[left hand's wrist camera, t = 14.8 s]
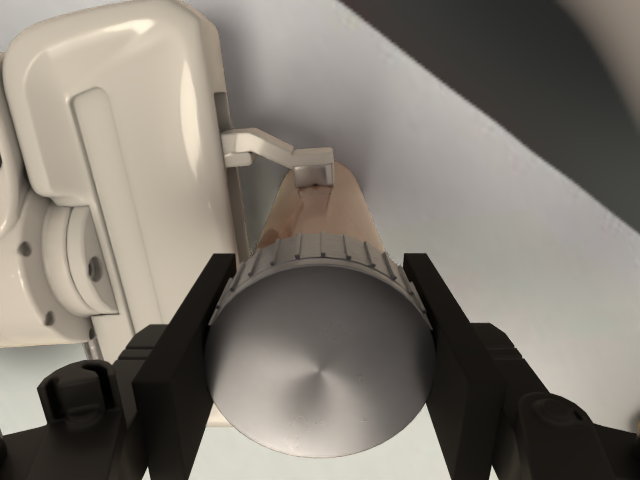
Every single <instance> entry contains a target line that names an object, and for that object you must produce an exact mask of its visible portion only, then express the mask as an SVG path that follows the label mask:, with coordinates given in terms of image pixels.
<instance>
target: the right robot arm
mask: <svg viewBox="0 0 640 480" xmlns="http://www.w3.org/2000/svg"><path fill="white" fill-rule="evenodd" d="M258 155H260V156H262V157H264V158H267V159H269V160H271V161H273V162H275V163H278V164H280V165H282V166H284V167H286V168H289V169H291V170H293V171H294V179H295V188H306V187H311V186H313V185H314V184H317V185H319V186H331V185H334V184H335V174H334V154H333V148H330V147H320V148H306V149H294V146H292V145H290V144H288V143H286V142H284V141H282V140H280V139H277V138H275V137H273V136H271V135H269V134H267V133H265V132H263V131H261V130H259V129H257V128H245V129H232V124H231V117H230V110H229V103H228V96H227V89H226V82H225V75H224V68H223V61H222V54H221V47H220V40H219V34H218V31H217V28H216V27H215V25H214V24H213V23H212V22H210V21H209V20H208V19H207V18H206V17H205V16H204V15H203V14H201V13H200V12H199V11H198V10H196V9H195V8H194V7H192V6H190V5H189V4H187V3H185V2H183V1H180V0H133V1H126V2H120V3H114V4H108V5H103V6H98V7H93V8H89V9H84V10H80V11H76V12H72V13H68V14H64V15H61V16H57V17H53V18H50V19H47V20H44V21H41V22H38V23H36V24H34V25H32V26H30V27H28V28H27V29H25V30H23V31H22V32H21V33H20V34H18V35H17V36H16V37H15V38H14V40H13V41H12V42H11V44H10V45H9V47H8V49H7V51H6V53H2V52H0V348H7V347H23V346H37V345H53V344H71V343H82V345H83V348H84V351H85V354H86V357H87V360H96V359H98V360H103V361H107V362H109V363H110V364H113V363H114V362H115V360H118V356H119V355H120V354H121V352H122V351H123V350H125V347H126V346H127V344H128V343H129V342H130V340H131V339H132V338H133V336H134V335H135V334H136V333H138V332H139V331H141V330H142V329H144V328H145V327H146V326H148V325H149V324H169V323H170V321H171V319H172V318H173V316H174V315H175V313H176V312H177V310H178V308H179V307H180V305H181V304H182V302H183V301H184V299H185V297H186V296H187V294H188V293H189V291H190V289H191V288H192V286H193V285H194V283H195V282H196V280H197V278H198V277H199V275H200V274H201V272H202V271H203V269H204V267H205V266H206V264H207V263H208V261H209V260H210V258H211V256H212V255H213V253H235V254H236V267H237V271H238V268H239V266H240V264H241V263H242V262H244V263H246V262H247V260H248V259H249V258H250V251H249V244H248V237H247V230H246V223H245V216H244V209H243V202H242V195H241V188H240V181H239V174H238V167H239V166H250V165H251V163H252V162H253V161H254V160H255V159H256V158H257V157H258ZM206 427H234V426H232V425H231V424H230V423H229V422H228V421H227V420H226V418H225V417H224V416H223V415H222V414H221V413H220V411H219V409H218V408H217V406H216V405H215V403H214V404H213V407H212V410H211V413H210V416H209V419H208V422H207V425H206Z"/></svg>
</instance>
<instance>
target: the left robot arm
mask: <svg viewBox="0 0 640 480" xmlns="http://www.w3.org/2000/svg"><path fill="white" fill-rule="evenodd" d="M403 270H404V272H405V274H406V276H407V278H408V281H409V283H410V282H413V284H414V286H415V289H416V291H417V293H418V295H419V297H420V299H421V301H422V303H423V305H424V308H425V310H426V312H427V313H426V315H427V318H428V320H429V322H430V324H431V326H432V328H433V333H432V334H433V337H434V341H435V346H436V363H435V372H434V380H433V387H432V390H431V392H430V395H429V397H428V399H427V401H426V405H427V408H428V411H429V414H430V417H431V420H432V423H433V426H434V429H435V432H436V435H437V438H438V441H439V444H440V447H441V450H442V453H443V456H444V459H445V462H446V465H447V468H448V471H449V474H450V477H451V480H489V476H490V471H491V466H493V468H494V470H495V472H496V475H497V477H498V479H499V480H640V428H639V431H638V434H635V433H631V432H626V431H622V430H618V429H613V428H609V427H604V426H601V425H597V424H594V423H593V422H592V421H591V419H590V418H589V416H588V415H587V413H586V412H585V411H584V410H582V409H581V408H580V407H579V406H577V405H576V404H575V403H573V402H571V401H569V400H567V399H565V398H563V397H561V396H558V395H555V394H551V393H550V392H549V391H548V390H547V388H546V387H545V386H544V384H543V383H542V382H541V380H540V379H539V378H538V376H537V375H536V374H535V372H534V371H533V370H532V368H531V367H530V366H529V364H528V363H527V362H526V360H525V359H522V355H521V354H520V352H519V351H518V350H517V348H515V347H514V344H513V343H512V342H511V340H510V339H509V338H508V336H507V335H506V334H505V333H504V332H502V331H501V330H500V329H498V328H497V327H495V326H494V325H492V324H491V323H470V322H469V320H468V319H467V317H466V315H465V314H464V312H463V311H462V309H461V308H460V306H459V304H458V303H457V301H456V300H455V298H454V296H453V295H452V293H451V292H450V290H449V289H448V287H447V285H446V284H445V282H444V281H443V279H442V278H441V276H440V274H439V273H438V271H437V270H436V268H435V267H434V265H433V263H432V262H431V260H430V259H429V257H428V256H427V254H426V253H404V261H403ZM236 273H237V267H236V254H235V253H213V255H212V256H211V258H210V260H209V261H208V263H207V264H206V266H205V267H204V269H203V271H202V272H201V274H200V275H199V277H198V278H197V280H196V282H195V283H194V285H193V286H192V288H191V289H190V291H189V293H188V294H187V296H186V297H185V299H184V301H183V302H182V304H181V305H180V307H179V308H178V310H177V312H176V313H175V315H174V316H173V318H172V319H171V321H170V323H169V324H149V325H148V326H146V327H145V328H144V329H142V330H141V331H139V332H138V333H136V334H135V335H134V336H133V338H132V339H131V340H130V342H129V343H128V344H127V346H126V347H125V350H123V351H122V352H121V354H120V355H119V356H118V360H115V362H114V363H113V364H110V363H109V362H107V361H103V360H98V359H96V360H83V361H80V362H76V363H72V364H69V365H67V366H65V367H62V368H60V369H58V370H56V371H54V372H53V373H52V374H50V375H49V376H47V377H46V378H45V379H44V380H43V381H42V382H41V383H40V385H39V386H38V387H37V391H38V394H39V397H40V400H41V404H42V407H43V410H44V414H45V417H46V420H47V425H45V426H42V427H38V428H34V429H30V430H26V431H21V432H17V433H13V434H8V435H4V436H3V435H2V433H1V430H0V480H142V478H143V476H144V474H145V471H146V469H147V467H148V469H149V474H150V479H151V480H188V479H189V476H190V473H191V470H192V467H193V464H194V461H195V458H196V455H197V452H198V449H199V446H200V443H201V440H202V437H203V434H204V431H205V428H206V425H207V422H208V419H209V416H210V413H211V410H212V407H213V404H214V402H213V400H212V397H211V395H210V393H209V391H208V388H207V383H206V376H205V368H204V359H203V350H204V345H205V339H206V337H207V334H208V331H209V328H207V326H208V324H209V322H210V319H211V317H212V315H213V313H214V311H215V309H216V306H217V303H218V301H219V299H220V297H221V295H222V293H223V291H224V289H225V286H226V284H227V282H228V280H229V278H232V279H233V277H234V276H235V274H236Z"/></svg>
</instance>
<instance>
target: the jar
mask: <svg viewBox="0 0 640 480" xmlns="http://www.w3.org/2000/svg"><path fill="white" fill-rule="evenodd" d="M334 174H335V184H334V185H331V186H319V185H317V184H314V185H313V186H311V187H306V188H295V179H294V171H293V170H290V171H289V172H288V173H287V175H286V176H285V177H284V179H283V181H282V183H281V185H280V188H279V190H278V193H277V196H276V198H275V201H274V203H273V206H272V208H271V211H270V213H269V216H268V218H267V221H266V223H265V226H264V228H263V231H262V233H261V236H260V238H259V241H258V243H257V246H256V248H255V251H254V254H253V255H255V253H256V250H257V249H259V248H260V249H261V250H262V249H263V248H265V247H267V246H269V245H270V244H272V243H275V241H276V239H278V238H280V240H282V239H285V238H289V237H292V236H296V235H298V233H300V232H301V233H302V234H309V233H321V231H325V233H330V234H339V235H343V234H344V233H345V234H347V235H348V237H352V238H355V239H357V240H360V241H363V242H365V240H366V241H368V242H369V244H370V245H371V246H373V247H375V248H377V249H378V250H380V251H381V252H382V253H383V252H384V251H385V249H384V247H383V244H382V242H381V239H380V237H379V234H378V232H377V229H376V227H375V224H374V221H373V219H372V216H371V214H370V211H369V209H368V206H367V204H366V201H365V199H364V196H363V194H362V191H361V189H360V186H359V184H358V182H357V180H356V178H355V176H354V175H353V174H352V173H351V171H350V170H349V169H347V168H346V167H345V166H344V165H342V164H340V163H338V162H336V161H334Z"/></svg>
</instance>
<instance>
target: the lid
mask: <svg viewBox="0 0 640 480" xmlns="http://www.w3.org/2000/svg"><path fill="white" fill-rule="evenodd" d="M426 313H427V312H426V310H425V308H424V305H423V303H422V301H421V299H420V297H419V295H418V293H417V291H416V289H415V286H414V284H413V282H410V283H409V281H408V278H407V276H406V274H405V272H404V270H403V268H402V266H401V265H400V266H397V265H396V264H395V263H394V262H393V261H392V260H391V259H390V258H389V256H388V253H387V252H385V251H384V252H383V253H382V252H381V251H380V250H378V249H377V248H375V247H373V246H371V245H370V244H369V242H368V241H366V240H365V242H363V241H360V240H357V239H355V238H352V237H348V235H347V234H345V233H344V234H343V235H339V234H330V233H325V231H321V233H309V234H302V233H301V232H300V233H298V235H296V236H292V237H289V238H285V239H282V240H280V238H278V239H276V241H275V243H272V244H270V245H269V246H267V247H265V248H263V249H262V250H261V249H260V248H259V249H257V250H256V253H255V255H253V256H252V257H251V258H249V259H248V260H247V262H246V263H244V262H242V263H241V264H240V266H239V268H238V271H237V273H236V274H235V276H234V277H233V279H232V278H229V280H228V282H227V284H226V286H225V289H224V291H223V293H222V295H221V297H220V299H219V301H218V303H217V306H216V309H215V311H214V313H213V315H212V317H211V319H210V322H209V324H208V326H207V328H209V331H208V334H207V337H206V339H205V345H204V350H203V359H204V368H205V376H206V383H207V388H208V391H209V393H210V395H211V397H212V400H213V402H214V403H215V405H216V406H217V408H218V409H219V411H220V413H221V414H222V415H223V416H224V417H225V418H226V420H227V421H228V422H229V423H230V424H231V425H232V426H234V427H235V428H236V429H237V430H238V431H239V432H241V433H242V434H243V435H245V436H246V437H248V438H249V439H251V440H253V441H254V442H256V443H258V444H260V445H262V446H264V447H267V448H269V449H272V450H274V451H278V452H281V453H284V454H288V455H293V456H299V457H308V458H332V457H341V456H346V455H351V454H356V453H359V452H362V451H365V450H368V449H371V448H373V447H375V446H377V445H380V444H382V443H383V442H385V441H387V440H389V439H390V438H392V437H393V436H395V435H396V434H398V433H399V432H400V431H402V430H403V429H404V428H405V427H406V426H407V425H408V424H409V423H410V422H411V421H412V420H413V419H414V418H415V417H416V416H417V414H418V413H419V412H420V411H421V409H422V408H423V406H424V404H425V403H426V401H427V399H428V397H429V395H430V392H431V390H432V387H433V380H434V372H435V363H436V346H435V341H434V337H433V334H432V333H433V328H432V326H431V324H430V322H429V320H428V318H427V315H426Z"/></svg>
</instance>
